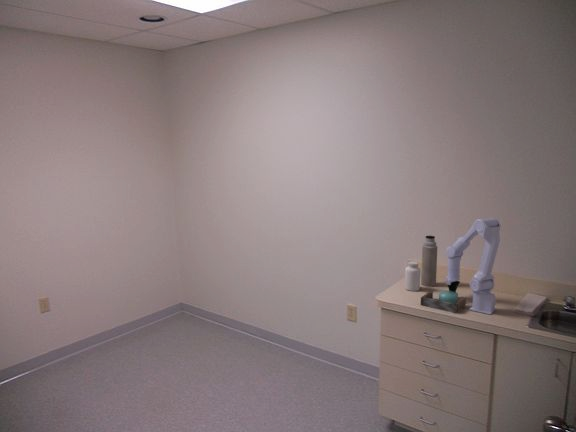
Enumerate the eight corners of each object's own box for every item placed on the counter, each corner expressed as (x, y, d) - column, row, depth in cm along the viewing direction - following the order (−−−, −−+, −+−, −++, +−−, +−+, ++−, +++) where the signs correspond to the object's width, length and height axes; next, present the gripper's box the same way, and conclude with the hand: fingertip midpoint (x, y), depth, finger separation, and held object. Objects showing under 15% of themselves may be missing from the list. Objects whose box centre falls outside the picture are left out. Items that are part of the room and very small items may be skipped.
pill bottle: (420, 291, 227) (421, 264, 225) (405, 291, 229) (405, 264, 227) (419, 287, 235) (419, 261, 233) (404, 286, 237) (404, 260, 234)
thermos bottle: (427, 281, 245) (428, 234, 240) (438, 284, 238) (440, 236, 234) (418, 284, 240) (419, 235, 236) (429, 287, 234) (431, 238, 229)
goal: (465, 305, 206) (465, 297, 206) (456, 313, 197) (457, 305, 196) (430, 298, 217) (430, 290, 217) (420, 305, 208) (420, 297, 207)
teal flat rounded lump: (458, 299, 215) (459, 292, 214) (456, 305, 207) (456, 297, 206) (440, 296, 219) (440, 289, 218) (437, 302, 211) (437, 294, 211)
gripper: (450, 264, 223) (449, 289, 225) (440, 271, 212) (439, 297, 214) (464, 267, 218) (463, 292, 221) (454, 273, 208) (453, 300, 210)
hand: (452, 294), depth 217 cm, fingers closed
